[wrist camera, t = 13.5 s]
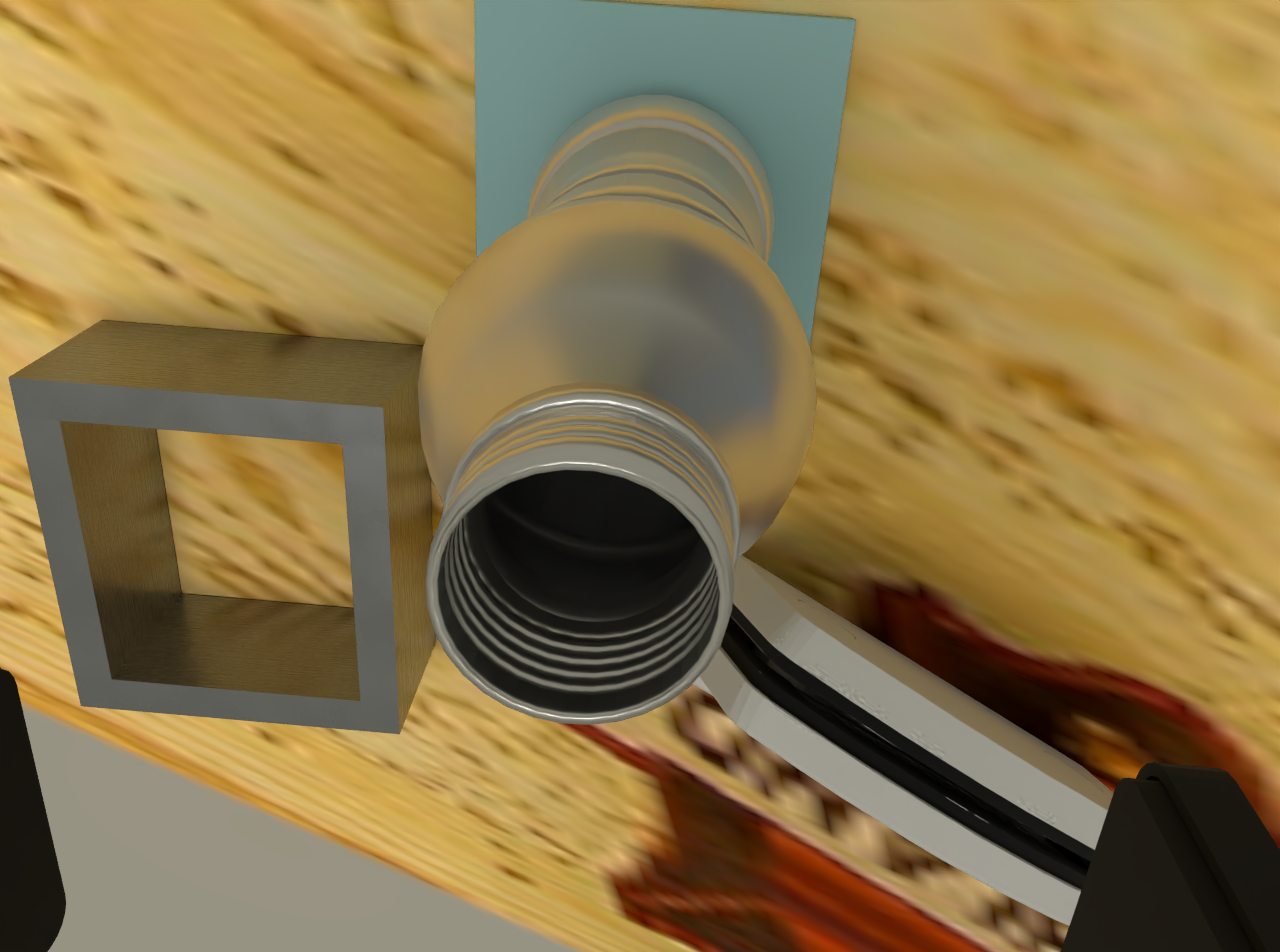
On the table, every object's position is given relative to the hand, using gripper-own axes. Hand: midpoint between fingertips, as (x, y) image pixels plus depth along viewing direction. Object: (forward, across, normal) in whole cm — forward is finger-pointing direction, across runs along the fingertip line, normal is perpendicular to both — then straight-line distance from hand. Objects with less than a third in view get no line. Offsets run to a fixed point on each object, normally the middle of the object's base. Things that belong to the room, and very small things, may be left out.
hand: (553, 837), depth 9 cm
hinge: (+25, -9, +16) cm, 31 cm away
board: (+24, +1, -1) cm, 24 cm away
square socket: (+24, +13, +10) cm, 29 cm away
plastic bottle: (+24, 0, -1) cm, 24 cm away
